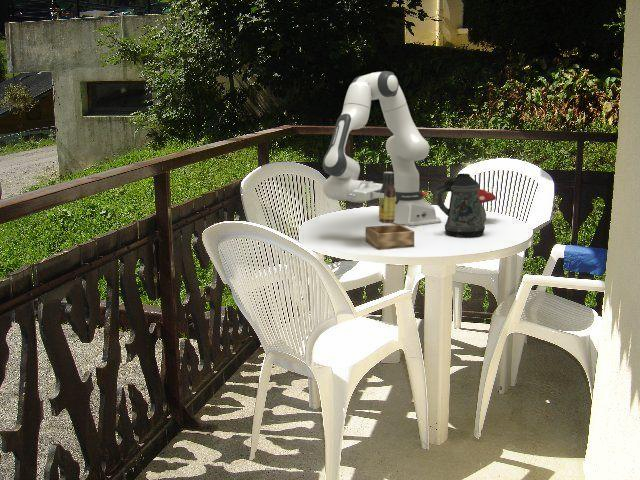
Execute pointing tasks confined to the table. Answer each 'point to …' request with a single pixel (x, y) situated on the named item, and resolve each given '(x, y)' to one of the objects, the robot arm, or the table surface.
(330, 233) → the table surface
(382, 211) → the sauce bottle
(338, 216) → the table surface
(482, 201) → the decorative mushroom
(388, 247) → the crate
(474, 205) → the beer stein
